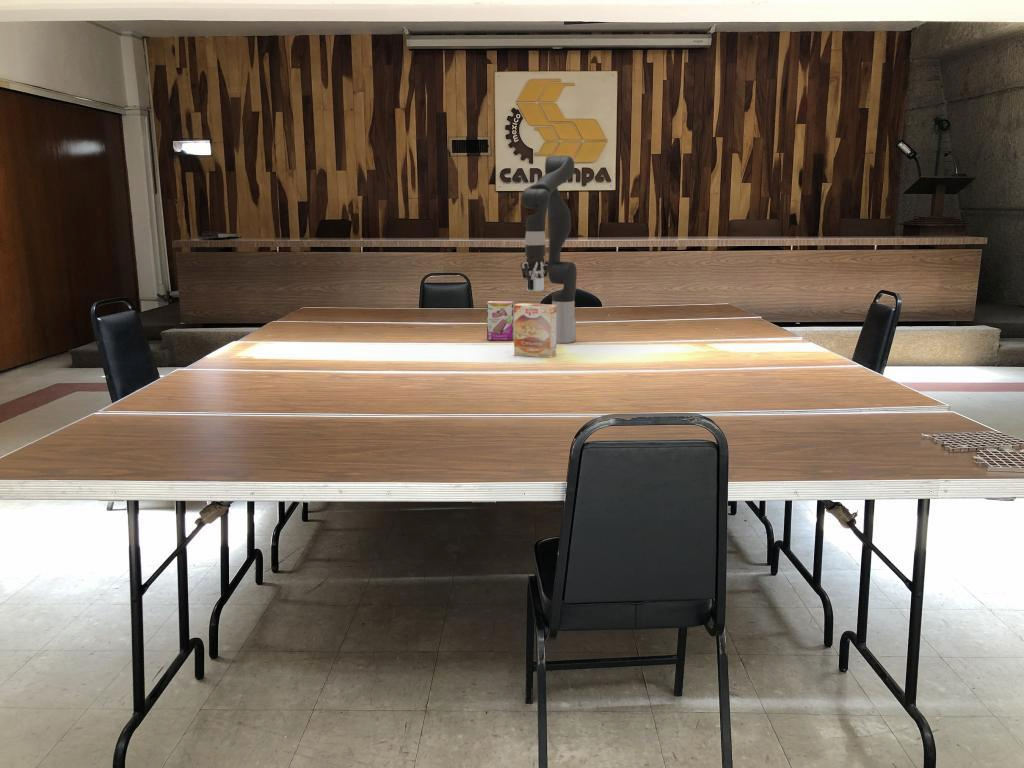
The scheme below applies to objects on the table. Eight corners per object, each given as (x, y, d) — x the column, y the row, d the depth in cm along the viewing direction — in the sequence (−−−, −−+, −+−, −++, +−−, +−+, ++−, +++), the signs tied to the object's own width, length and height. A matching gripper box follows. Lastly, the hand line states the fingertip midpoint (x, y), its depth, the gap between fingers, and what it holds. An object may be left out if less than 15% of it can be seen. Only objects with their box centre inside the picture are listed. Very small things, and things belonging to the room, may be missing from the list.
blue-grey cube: (535, 289, 324) (535, 277, 324) (543, 290, 321) (543, 278, 320) (527, 290, 321) (526, 278, 320) (535, 291, 318) (535, 279, 317)
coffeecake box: (513, 355, 326) (513, 304, 322) (520, 352, 333) (520, 302, 329) (550, 358, 321) (550, 306, 316) (556, 354, 327) (556, 304, 323)
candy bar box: (486, 341, 359) (486, 302, 355) (488, 339, 363) (487, 300, 360) (513, 341, 357) (513, 302, 354) (514, 339, 362) (514, 301, 359)
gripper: (540, 242, 325) (540, 287, 329) (514, 244, 315) (515, 290, 319) (555, 243, 320) (555, 288, 324) (529, 244, 310) (529, 291, 314)
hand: (535, 289), depth 321 cm, fingers closed on blue-grey cube, 4 cm apart
